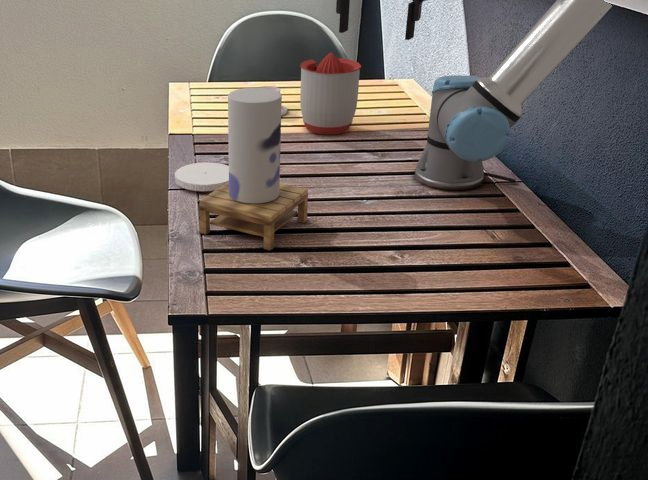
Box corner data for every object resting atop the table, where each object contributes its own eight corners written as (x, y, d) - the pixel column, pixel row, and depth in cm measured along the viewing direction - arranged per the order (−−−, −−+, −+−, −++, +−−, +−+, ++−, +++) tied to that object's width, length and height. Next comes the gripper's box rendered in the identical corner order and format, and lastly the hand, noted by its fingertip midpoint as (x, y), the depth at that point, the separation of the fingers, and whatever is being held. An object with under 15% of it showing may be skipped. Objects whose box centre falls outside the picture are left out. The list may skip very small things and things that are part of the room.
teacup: (260, 103, 239) (260, 82, 235) (295, 110, 233) (296, 88, 229) (237, 113, 230) (237, 91, 227) (272, 120, 224) (273, 98, 221)
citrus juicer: (344, 116, 227) (349, 43, 217) (364, 136, 212) (370, 58, 202) (290, 120, 225) (292, 45, 214) (306, 140, 210) (309, 61, 200)
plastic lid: (240, 174, 190) (240, 163, 188) (231, 197, 178) (231, 186, 177) (182, 171, 192) (181, 161, 190) (169, 193, 180) (168, 183, 179)
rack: (307, 220, 167) (308, 188, 163) (270, 250, 155) (270, 217, 151) (239, 205, 174) (239, 174, 170) (199, 233, 162) (198, 200, 159)
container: (275, 206, 156) (277, 102, 146) (224, 202, 158) (223, 100, 147) (282, 186, 164) (285, 88, 154) (234, 183, 166) (233, 85, 156)
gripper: (459, -86, 144) (444, 37, 155) (331, -91, 155) (325, 25, 166) (446, -83, 138) (431, 45, 149) (313, -88, 149) (309, 32, 160)
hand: (375, 35), depth 157 cm, fingers open, 13 cm apart
